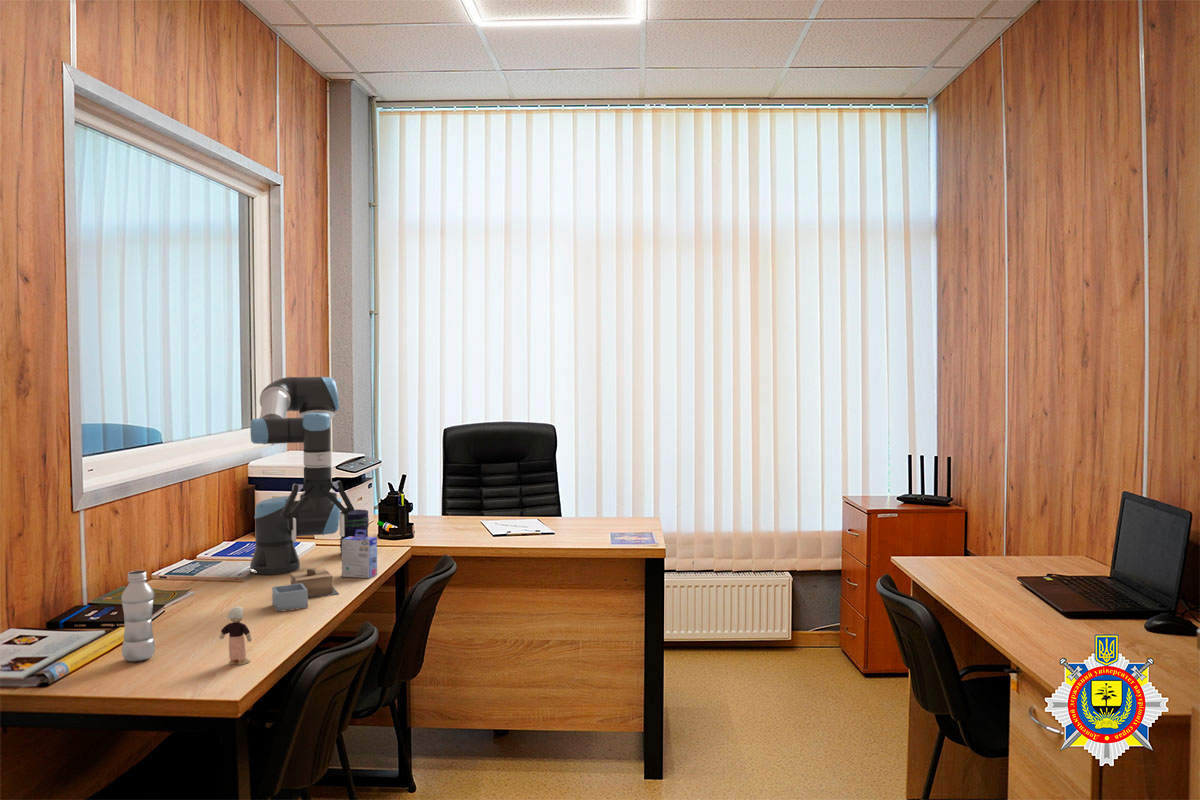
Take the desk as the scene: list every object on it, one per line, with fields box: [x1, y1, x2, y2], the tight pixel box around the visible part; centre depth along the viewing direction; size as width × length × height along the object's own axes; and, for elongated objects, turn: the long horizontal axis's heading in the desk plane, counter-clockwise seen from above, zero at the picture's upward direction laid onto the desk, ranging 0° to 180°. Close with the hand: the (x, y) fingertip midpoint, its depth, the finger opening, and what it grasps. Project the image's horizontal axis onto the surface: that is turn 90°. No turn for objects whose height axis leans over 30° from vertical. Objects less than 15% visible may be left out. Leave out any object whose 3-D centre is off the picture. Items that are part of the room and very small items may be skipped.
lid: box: [289, 568, 334, 596], centre depth 244 cm, size 10×10×6 cm
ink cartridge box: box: [341, 529, 378, 579], centre depth 263 cm, size 10×6×14 cm, turn 78°
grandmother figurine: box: [218, 606, 253, 666], centre depth 186 cm, size 8×4×13 cm, turn 92°
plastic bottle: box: [120, 570, 156, 662], centre depth 188 cm, size 6×7×20 cm
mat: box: [308, 587, 340, 599], centre depth 245 cm, size 13×13×1 cm
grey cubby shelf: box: [271, 583, 309, 612], centre depth 230 cm, size 8×8×5 cm
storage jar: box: [339, 509, 370, 556], centre depth 294 cm, size 10×10×15 cm
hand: (318, 538), depth 243 cm, fingers open, 13 cm apart
